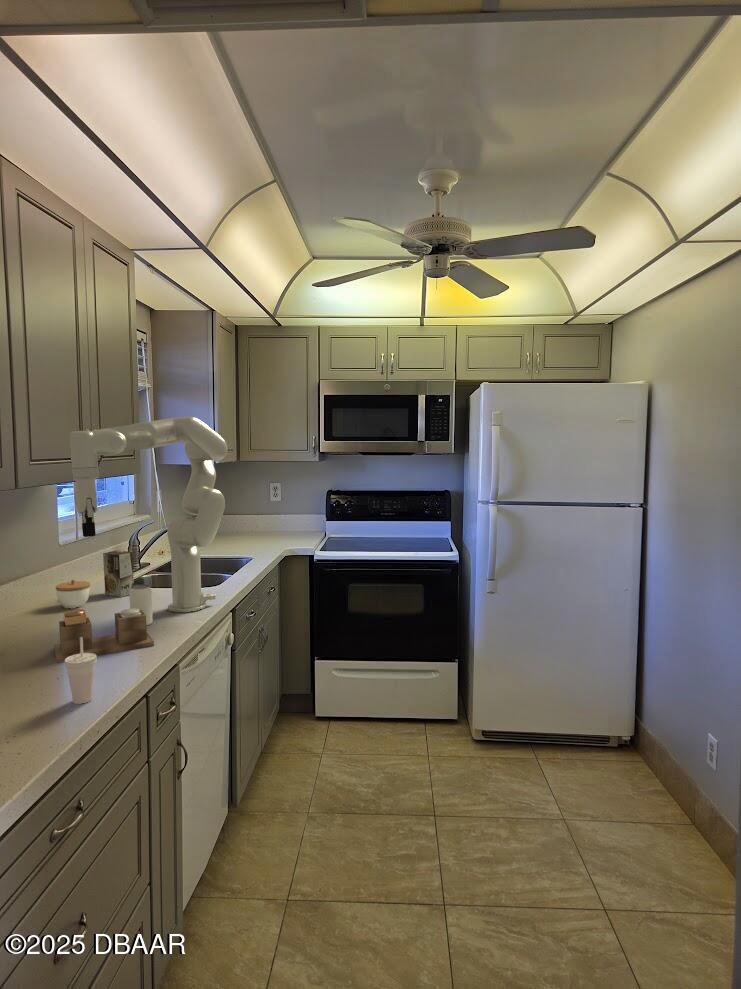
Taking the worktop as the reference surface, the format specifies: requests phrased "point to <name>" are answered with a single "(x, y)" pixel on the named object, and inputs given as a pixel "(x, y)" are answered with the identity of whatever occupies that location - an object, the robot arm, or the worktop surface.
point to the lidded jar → (73, 593)
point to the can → (142, 600)
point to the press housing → (126, 637)
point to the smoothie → (81, 675)
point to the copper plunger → (74, 617)
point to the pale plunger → (129, 613)
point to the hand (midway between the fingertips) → (89, 535)
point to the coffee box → (118, 573)
